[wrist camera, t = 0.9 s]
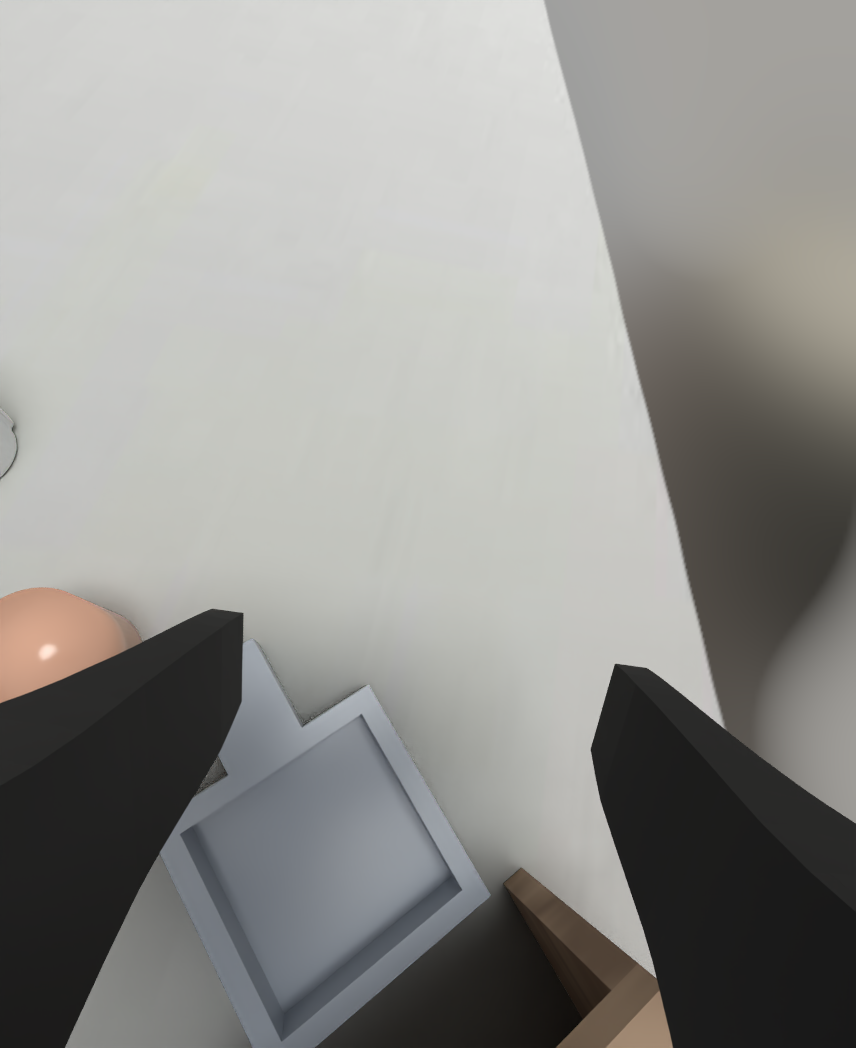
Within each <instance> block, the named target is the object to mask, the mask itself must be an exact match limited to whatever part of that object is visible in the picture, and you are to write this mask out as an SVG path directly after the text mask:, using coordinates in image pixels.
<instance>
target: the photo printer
mask: <svg viewBox="0 0 856 1048" xmlns="http://www.w3.org/2000/svg"><path fill="white" fill-rule="evenodd" d="M13 425H14V423H13V421H12V420H11V418H10V417H9V416H8V415H7V414H6V413H5V412H4V411H3V410H2V409H1V408H0V477H1V476H2V475H3V474H4V473H5V472H6V471H7V470H8V468H9V467H10V466H11V464H12V462H13V460H14V458H15V454H16V450H17V443H16V438H15V435H14V433H13V432H12V430H11V429H12V427H13Z"/></svg>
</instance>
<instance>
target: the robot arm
mask: <svg viewBox="0 0 856 1048" xmlns="http://www.w3.org/2000/svg"><path fill="white" fill-rule="evenodd" d="M242 660H243V613H239V612H231V611H224V610H217V609H210V610H208V611H205V612H203V613H201V614H199V615H196V616H194V617H192V618H190V619H188V620H186V621H184V622H182V623H180V624H178V625H176V626H174V627H172V628H170V629H168V630H166V631H164V632H162V633H160V634H158V635H156V636H154V637H152V638H150V639H148V640H146V641H144V642H142V643H140V644H138V645H136V646H134V647H132V648H130V649H127V650H125V651H123V652H121V653H119V654H117V655H115V656H113V657H110V658H108V659H106V660H104V661H102V662H99V663H97V664H95V665H93V666H90V667H88V668H86V669H84V670H81V671H79V672H77V673H75V674H72V675H70V676H68V677H66V678H64V679H61V680H59V681H56V682H54V683H52V684H49V685H47V686H44V687H42V688H39V689H37V690H34V691H31V692H29V693H26V694H24V695H21V696H18V697H15V698H13V699H10V700H7V701H4V702H2V703H0V1048H65V1046H66V1044H67V1042H68V1039H69V1037H70V1035H71V1033H72V1031H73V1028H74V1026H75V1024H76V1022H77V1020H78V1017H79V1015H80V1013H81V1011H82V1009H83V1007H84V1004H85V1002H86V1000H87V998H88V996H89V994H90V991H91V989H92V987H93V985H94V983H95V981H96V978H97V976H98V974H99V972H100V970H101V968H102V965H103V963H104V961H105V959H106V957H107V955H108V953H109V951H110V948H111V946H112V944H113V942H114V940H115V938H116V936H117V934H118V932H119V930H120V928H121V926H122V924H123V922H124V919H125V917H126V915H127V913H128V911H129V909H130V907H131V905H132V903H133V901H134V899H135V897H136V895H137V893H138V891H139V889H140V887H141V885H142V883H143V881H144V880H145V878H146V876H147V874H148V872H149V870H150V869H151V867H152V865H153V863H154V861H155V860H156V858H157V856H158V855H159V853H160V851H161V850H162V848H163V846H164V845H165V843H166V841H167V840H168V838H169V836H170V835H171V833H172V831H173V830H174V828H175V826H176V825H177V823H178V821H179V820H180V818H181V816H182V815H183V813H184V811H185V810H186V808H187V806H188V805H189V803H190V801H191V800H192V798H193V796H194V795H195V793H196V791H197V790H198V788H199V786H200V785H201V783H202V781H203V780H204V778H205V776H206V774H207V773H208V771H209V769H210V768H211V766H212V764H213V763H214V761H215V759H216V757H217V756H218V754H219V752H220V750H221V749H222V746H223V744H224V742H225V740H226V737H227V735H228V733H229V731H230V729H231V726H232V724H233V722H234V719H235V717H236V714H237V712H238V710H239V707H240V705H241V702H242ZM591 754H592V759H593V765H594V770H595V776H596V781H597V786H598V791H599V795H600V800H601V803H602V807H603V810H604V813H605V816H606V819H607V822H608V825H609V828H610V831H611V834H612V838H613V841H614V844H615V847H616V850H617V853H618V856H619V859H620V861H621V864H622V867H623V870H624V873H625V876H626V879H627V882H628V885H629V888H630V891H631V894H632V897H633V900H634V903H635V906H636V909H637V912H638V915H639V918H640V921H641V924H642V927H643V930H644V933H645V937H646V940H647V944H648V947H649V950H650V954H651V957H652V961H653V965H654V969H655V973H656V977H657V982H658V986H659V990H660V994H661V998H662V1003H663V1007H664V1011H665V1015H666V1019H667V1023H668V1028H669V1032H670V1036H671V1041H672V1046H673V1048H856V823H854V822H852V821H851V820H849V819H848V818H846V817H845V816H843V815H842V814H840V813H839V812H837V811H836V810H834V809H832V808H831V807H829V806H828V805H826V804H825V803H823V802H822V801H820V800H819V799H817V798H816V797H815V796H813V795H812V794H810V793H808V792H807V791H806V790H804V789H803V788H802V787H800V786H798V785H797V784H796V783H795V782H793V781H792V780H790V779H789V778H788V777H787V776H785V775H784V774H782V773H781V772H780V771H778V770H777V769H776V768H774V767H772V766H771V765H770V764H769V763H767V762H766V761H765V760H763V759H762V758H761V757H759V756H758V755H757V754H756V753H754V752H753V751H752V750H750V749H749V748H748V747H746V746H745V745H744V744H743V743H741V742H740V741H739V740H738V739H736V738H735V737H734V736H732V735H731V734H730V733H729V732H727V731H726V730H725V729H724V728H722V727H721V726H720V725H719V724H717V723H716V722H715V721H714V720H713V719H711V718H710V717H709V716H708V715H706V714H705V713H704V712H703V711H701V710H700V709H699V708H698V707H697V706H695V705H694V704H693V703H692V702H690V701H689V700H688V699H687V698H686V697H684V696H683V695H682V694H681V693H679V692H678V691H677V690H676V689H674V688H673V687H672V686H671V685H669V684H668V683H667V682H665V681H664V680H663V679H662V678H660V677H659V676H658V675H656V674H655V673H653V672H652V671H650V670H649V669H647V668H642V667H635V666H628V665H620V664H615V666H614V669H613V673H612V676H611V680H610V683H609V687H608V690H607V694H606V697H605V701H604V704H603V708H602V712H601V715H600V719H599V722H598V726H597V729H596V733H595V736H594V740H593V743H592V747H591Z"/></svg>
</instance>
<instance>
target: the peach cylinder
mask: <svg viewBox="0 0 856 1048" xmlns="http://www.w3.org/2000/svg"><path fill="white" fill-rule="evenodd" d="M140 643H142V640H141V637H140V635H139V633H138V631H137V629H136V628H135V627H134V625H133V624H132V623H131V622H130V621H128V620H127V619H126V618H124V617H123V616H121V615H119V614H116V613H114V612H112V611H109V610H107V609H105V608H102V607H100V606H98V605H96V604H93V603H91V602H89V601H86V600H84V599H82V598H79V597H77V596H75V595H72V594H70V593H68V592H65V591H62V590H59V589H53V588H30V589H25V590H21V591H18V592H14V593H12V594H10V595H7V596H5V597H3V598H1V599H0V703H2V702H4V701H7V700H10V699H13V698H15V697H18V696H21V695H24V694H26V693H29V692H31V691H34V690H37V689H39V688H42V687H44V686H47V685H49V684H52V683H54V682H56V681H59V680H61V679H64V678H66V677H68V676H70V675H72V674H75V673H77V672H79V671H81V670H84V669H86V668H88V667H90V666H93V665H95V664H97V663H99V662H102V661H104V660H106V659H108V658H110V657H113V656H115V655H117V654H119V653H121V652H123V651H125V650H127V649H130V648H132V647H134V646H136V645H138V644H140Z"/></svg>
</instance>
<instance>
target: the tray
mask: <svg viewBox="0 0 856 1048" xmlns="http://www.w3.org/2000/svg"><path fill="white" fill-rule="evenodd" d="M218 756H219V758H220V760H221V762H222V764H223V766H224V768H225V770H226V772H227V775H225V776H224V777H222V778H221V779H219V780H218V781H216V782H215V783H213V784H211V785H210V786H208V787H207V788H205V789H204V790H202V791H201V792H199V793H198V794H196V795H194V796H193V798H192V800H191V801H190V803H189V805H188V806H187V808H186V810H185V811H184V813H183V815H182V816H181V818H180V820H179V821H178V823H177V825H176V826H175V828H174V830H173V831H172V833H171V835H170V836H169V838H168V840H167V841H166V843H165V845H164V846H163V848H162V850H161V851H160V855H161V857H162V860H163V862H164V864H165V866H166V868H167V870H168V872H169V874H170V876H171V878H172V880H173V882H174V885H175V887H176V889H177V891H178V893H179V895H180V897H181V899H182V901H183V903H184V905H185V908H186V910H187V912H188V914H189V916H190V918H191V920H192V922H193V924H194V926H195V928H196V930H197V933H198V935H199V937H200V939H201V941H202V943H203V945H204V947H205V949H206V951H207V953H208V956H209V958H210V960H211V962H212V964H213V966H214V968H215V970H216V972H217V974H218V976H219V978H220V981H221V983H222V985H223V987H224V989H225V991H226V993H227V995H228V997H229V999H230V1001H231V1004H232V1006H233V1008H234V1010H235V1012H236V1014H237V1016H238V1018H239V1020H240V1022H241V1024H242V1026H243V1029H244V1031H245V1033H246V1035H247V1037H248V1039H249V1041H250V1043H251V1045H252V1047H253V1048H315V1047H316V1046H317V1045H319V1044H320V1043H321V1042H322V1041H323V1040H324V1039H326V1038H327V1037H328V1036H329V1035H330V1034H331V1033H332V1032H334V1031H335V1030H336V1029H337V1028H338V1027H339V1026H341V1025H342V1024H343V1023H344V1022H345V1021H346V1020H348V1019H349V1018H350V1017H351V1016H352V1015H353V1014H354V1013H356V1012H357V1011H358V1010H359V1009H360V1008H361V1007H363V1006H364V1005H365V1004H366V1003H367V1002H368V1001H370V1000H371V999H372V998H373V997H374V996H375V995H376V994H378V993H379V992H380V991H381V990H382V989H383V988H385V987H386V986H387V985H388V984H389V983H390V982H392V981H393V980H394V979H395V978H396V977H397V976H398V975H400V974H401V973H402V972H403V971H404V970H405V969H407V968H408V967H409V966H410V965H411V964H412V963H414V962H415V961H416V960H417V959H418V958H419V957H421V956H422V955H423V954H424V953H425V952H426V951H427V950H429V949H430V948H431V947H432V946H433V945H434V944H436V943H437V942H438V941H439V940H440V939H441V938H443V937H444V936H445V935H446V934H447V933H448V932H449V931H451V930H452V929H453V928H454V927H455V926H456V925H458V924H459V923H460V922H461V921H462V920H463V919H465V918H466V917H467V916H468V915H469V914H470V913H471V912H473V911H474V910H475V909H476V908H477V907H478V906H480V905H481V904H482V903H483V902H484V901H485V900H487V899H488V898H489V897H490V896H491V895H490V893H489V891H488V889H487V888H486V886H485V884H484V882H483V881H482V879H481V877H480V876H479V874H478V872H477V870H476V869H475V867H474V865H473V864H472V862H471V860H470V858H469V857H468V855H467V853H466V851H465V850H464V848H463V846H462V845H461V843H460V841H459V839H458V838H457V836H456V834H455V832H454V831H453V829H452V827H451V826H450V824H449V822H448V820H447V819H446V817H445V815H444V813H443V812H442V810H441V808H440V807H439V805H438V803H437V801H436V800H435V798H434V796H433V794H432V793H431V791H430V789H429V788H428V786H427V784H426V782H425V781H424V779H423V777H422V775H421V774H420V772H419V770H418V769H417V767H416V765H415V763H414V762H413V760H412V758H411V757H410V755H409V753H408V751H407V750H406V748H405V746H404V744H403V743H402V741H401V739H400V738H399V736H398V734H397V732H396V731H395V729H394V727H393V725H392V724H391V722H390V720H389V719H388V717H387V715H386V713H385V712H384V710H383V708H382V706H381V705H380V703H379V701H378V700H377V698H376V696H375V694H374V693H373V691H372V689H371V687H370V686H369V685H366V686H363V687H362V688H360V689H359V690H357V691H356V692H354V693H353V694H351V695H349V696H348V697H346V698H345V699H343V700H342V701H340V702H339V703H337V704H335V705H334V706H332V707H331V708H329V709H328V710H326V711H325V712H323V713H322V714H320V715H318V716H317V717H315V718H314V719H312V720H311V721H309V722H308V723H306V724H304V725H303V723H302V722H301V720H300V718H299V716H298V714H297V713H296V711H295V709H294V707H293V705H292V703H291V702H290V700H289V698H288V696H287V694H286V693H285V691H284V689H283V687H282V685H281V683H280V682H279V680H278V678H277V676H276V674H275V672H274V671H273V669H272V667H271V665H270V663H269V662H268V660H267V658H266V656H265V654H264V652H263V651H262V649H261V647H260V645H259V644H258V643H257V642H256V641H255V640H254V639H253V638H252V639H250V640H248V641H246V642H245V643H243V660H242V702H241V705H240V707H239V710H238V712H237V714H236V717H235V719H234V722H233V724H232V726H231V729H230V731H229V733H228V735H227V737H226V740H225V742H224V744H223V746H222V749H221V750H220V752H219V754H218Z"/></svg>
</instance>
